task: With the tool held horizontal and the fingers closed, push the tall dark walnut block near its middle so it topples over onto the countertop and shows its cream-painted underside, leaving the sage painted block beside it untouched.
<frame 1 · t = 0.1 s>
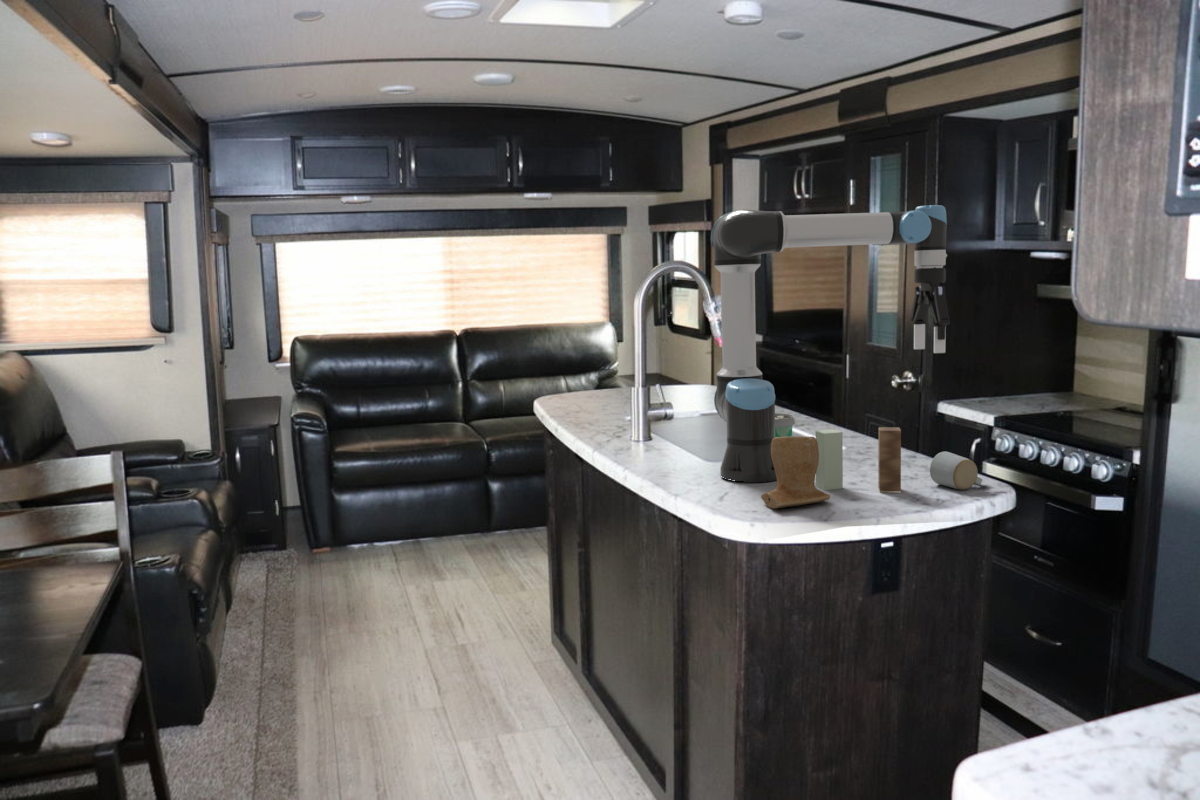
hand: (929, 351, 251), 28 cm above the counter, tool pointing down, fingers open, 13 cm apart
ceramic mug: (958, 487, 221), on the counter
sage block: (829, 487, 225), on the counter
food container: (783, 452, 270), on the counter
walnut block: (889, 490, 220), on the counter
cork flared stand: (792, 504, 211), on the counter
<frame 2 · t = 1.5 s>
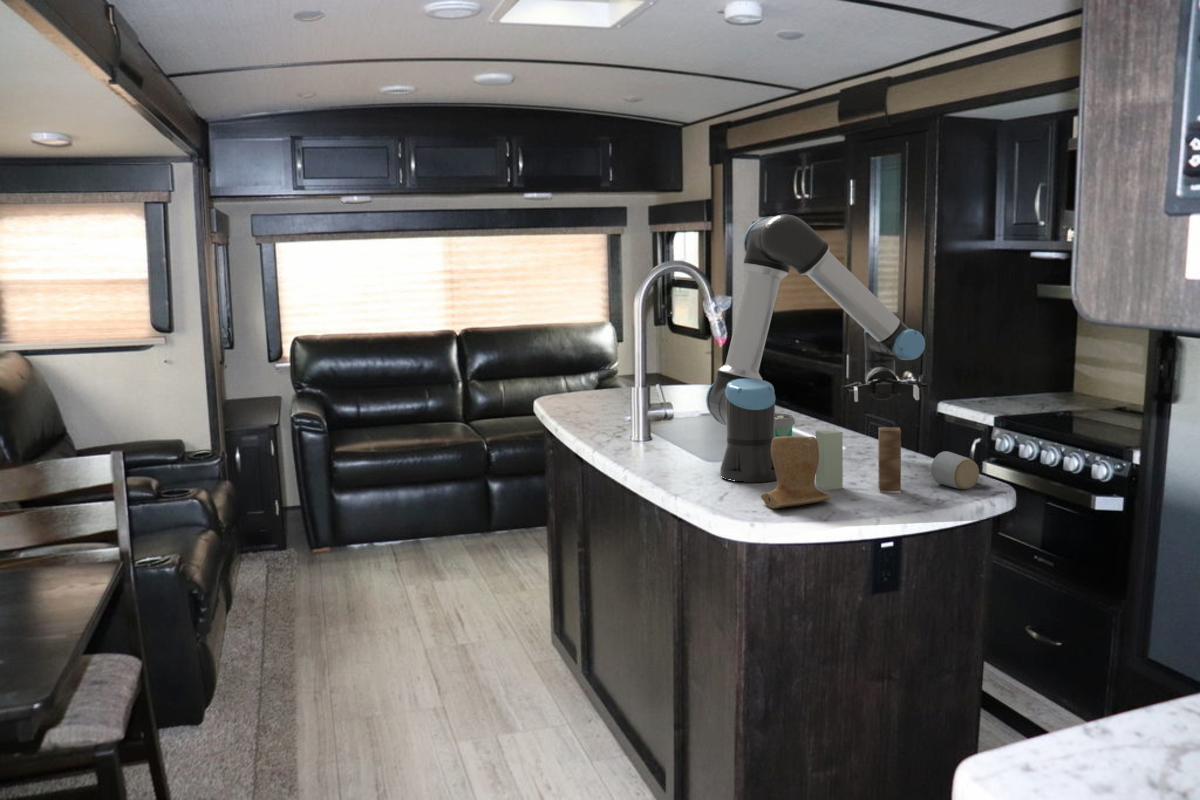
hand: (886, 395, 226), 20 cm above the counter, tool horizontal, fingers open, 13 cm apart
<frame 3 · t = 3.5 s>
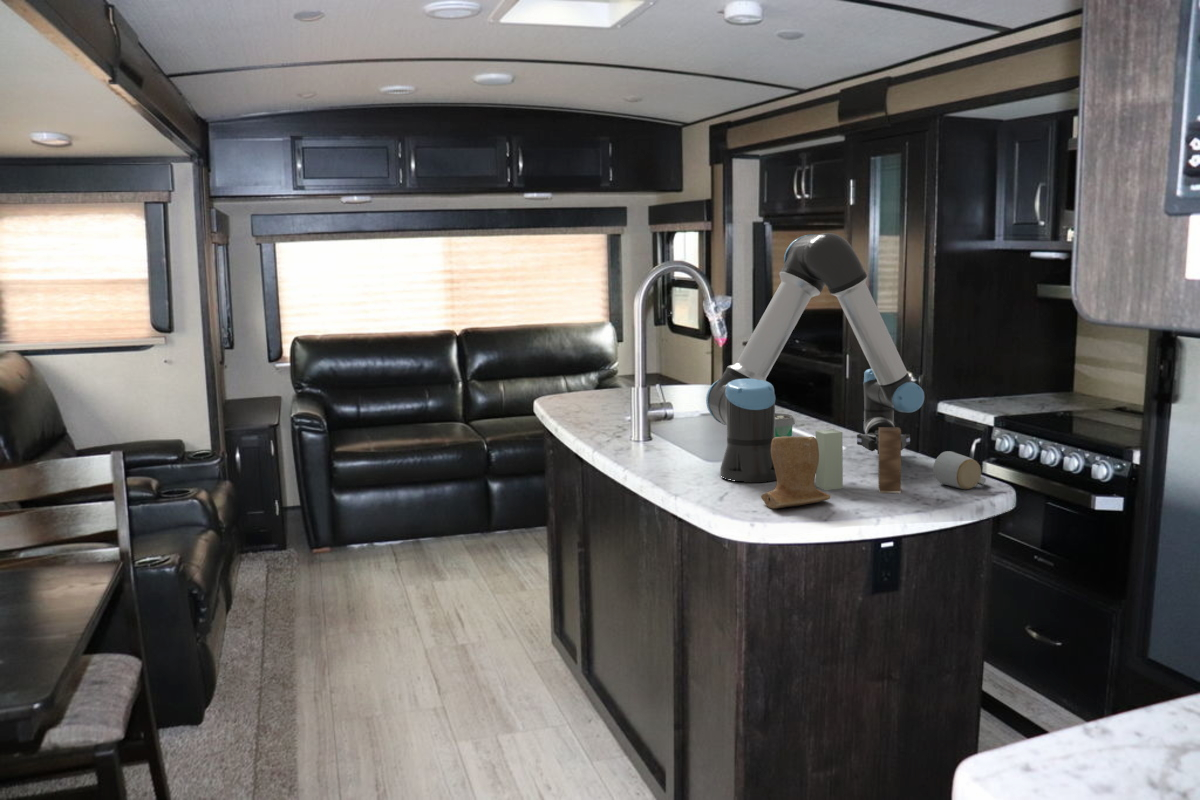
hand: (887, 451, 226), 7 cm above the counter, tool horizontal, fingers closed
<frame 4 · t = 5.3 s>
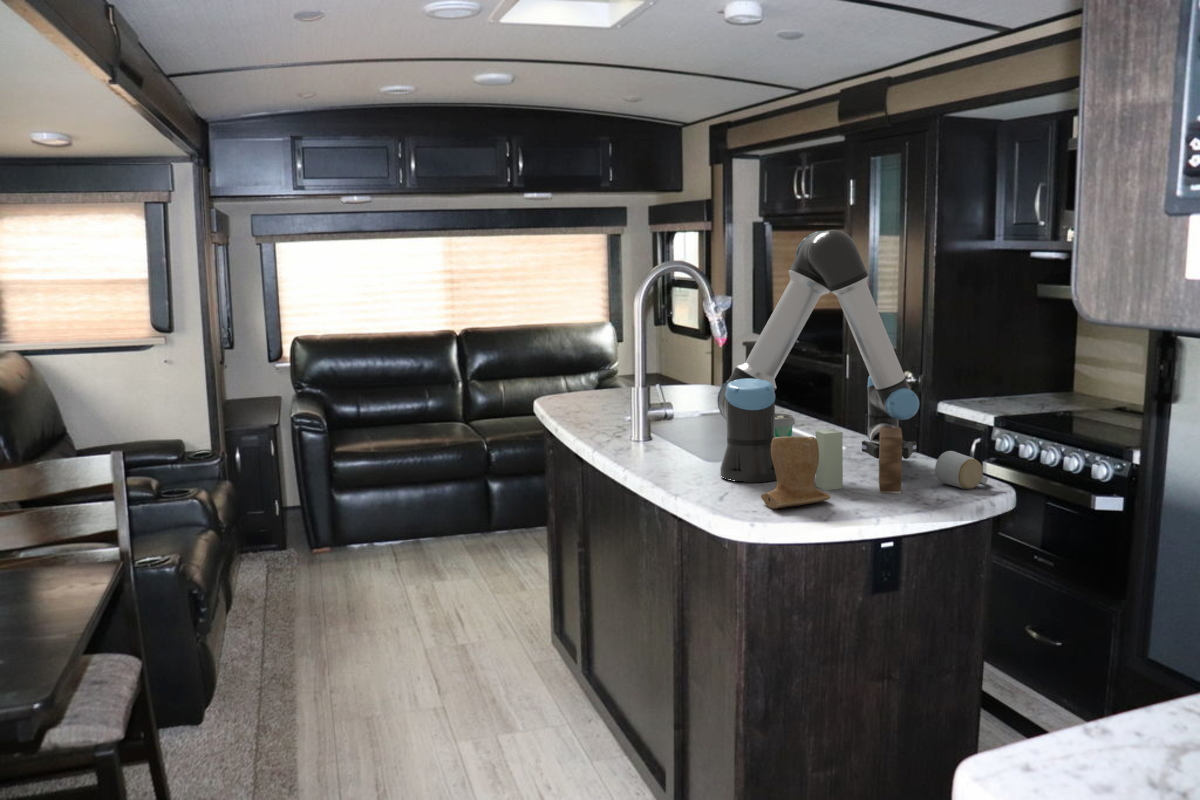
hand: (894, 459, 219), 7 cm above the counter, tool horizontal, fingers closed
walnut block: (889, 487, 219), point 1 cm above the counter, tilted 18°, touching gripper
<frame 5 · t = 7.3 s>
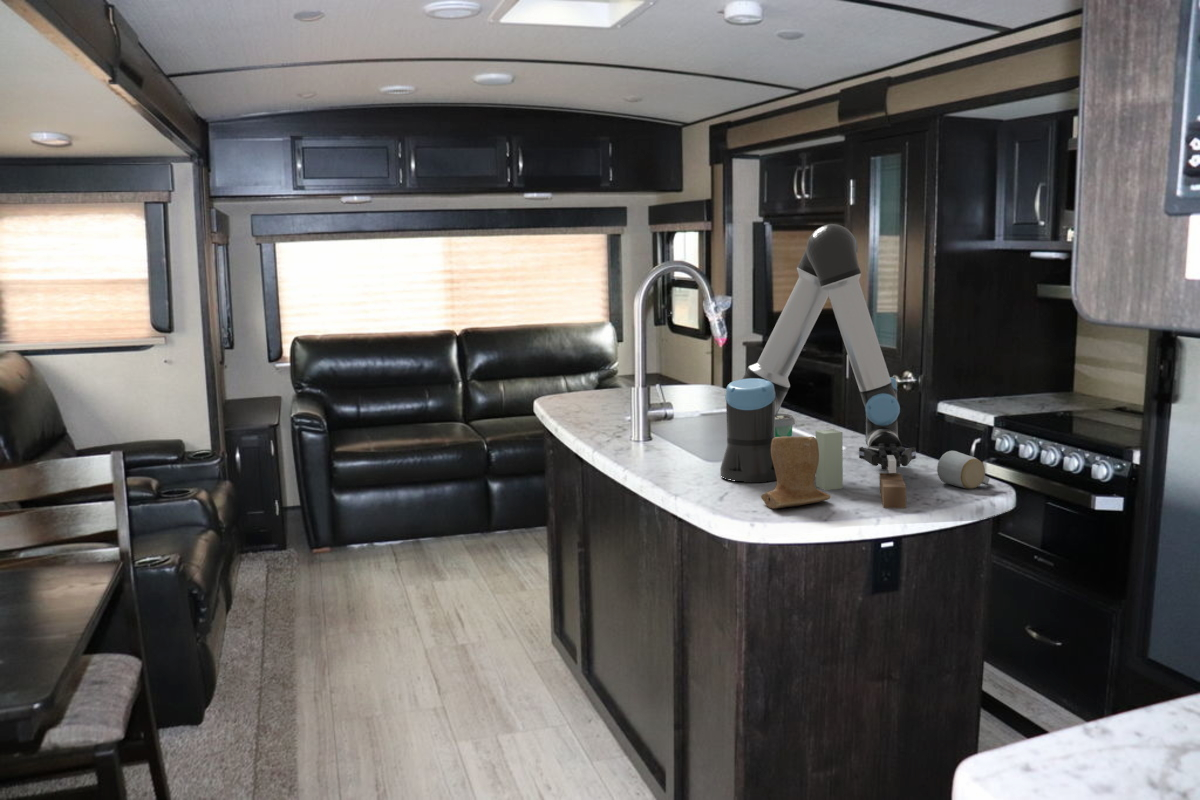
hand: (892, 466, 211), 7 cm above the counter, tool horizontal, fingers closed
walnut block: (890, 483, 217), point 2 cm above the counter, tilted 90°
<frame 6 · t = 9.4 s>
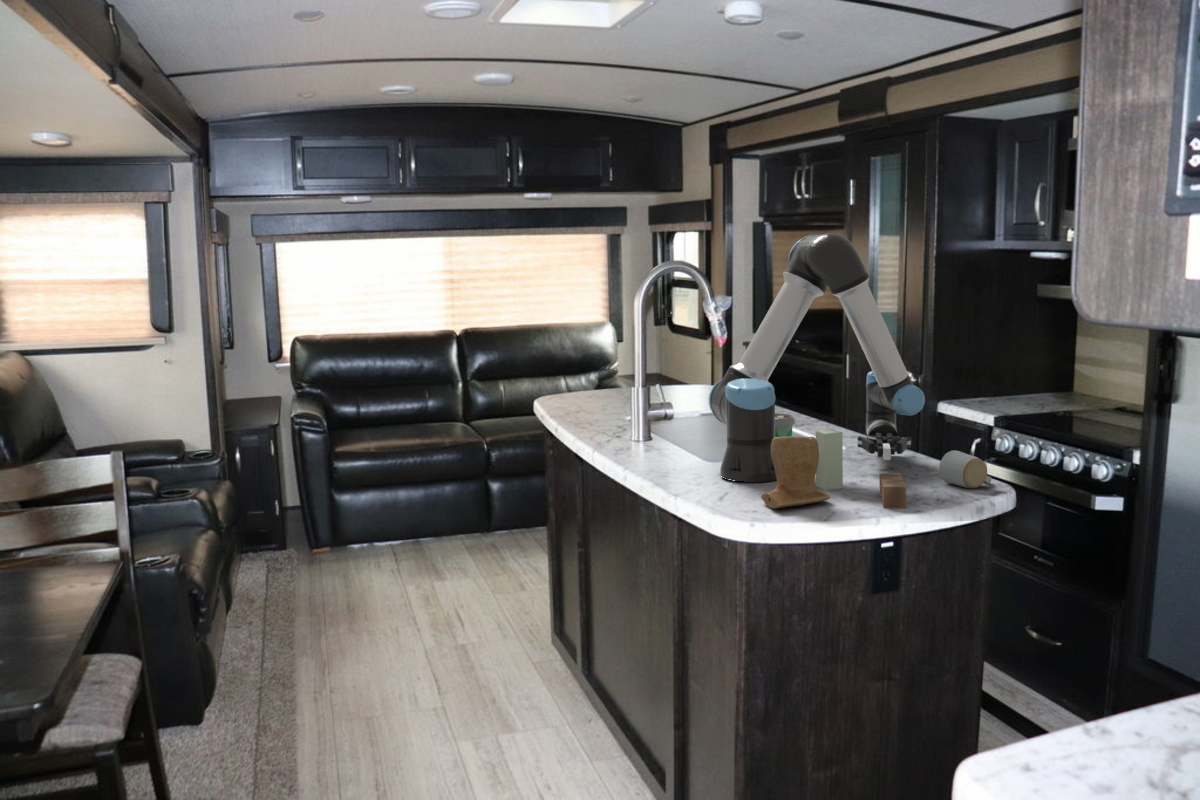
hand: (887, 454, 224), 7 cm above the counter, tool horizontal, fingers closed
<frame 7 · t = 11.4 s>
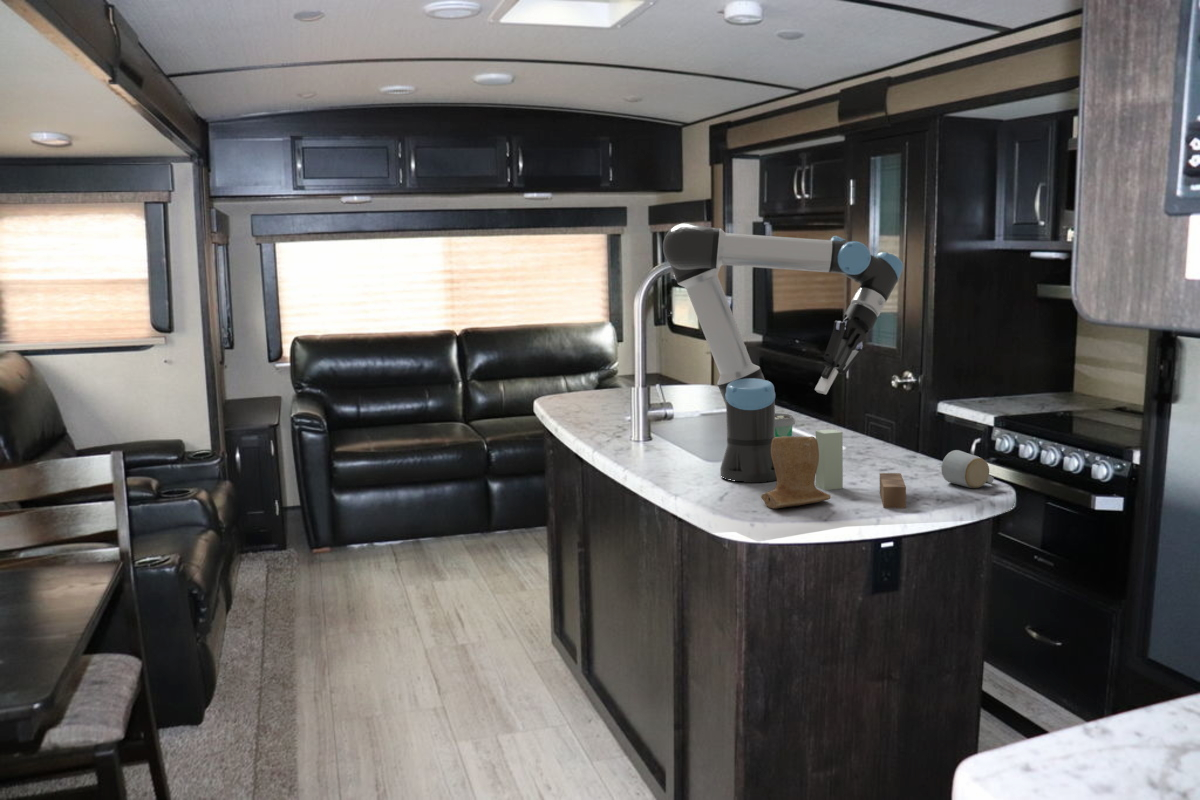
hand: (820, 391, 236), 20 cm above the counter, tool tilted 35°, fingers closed
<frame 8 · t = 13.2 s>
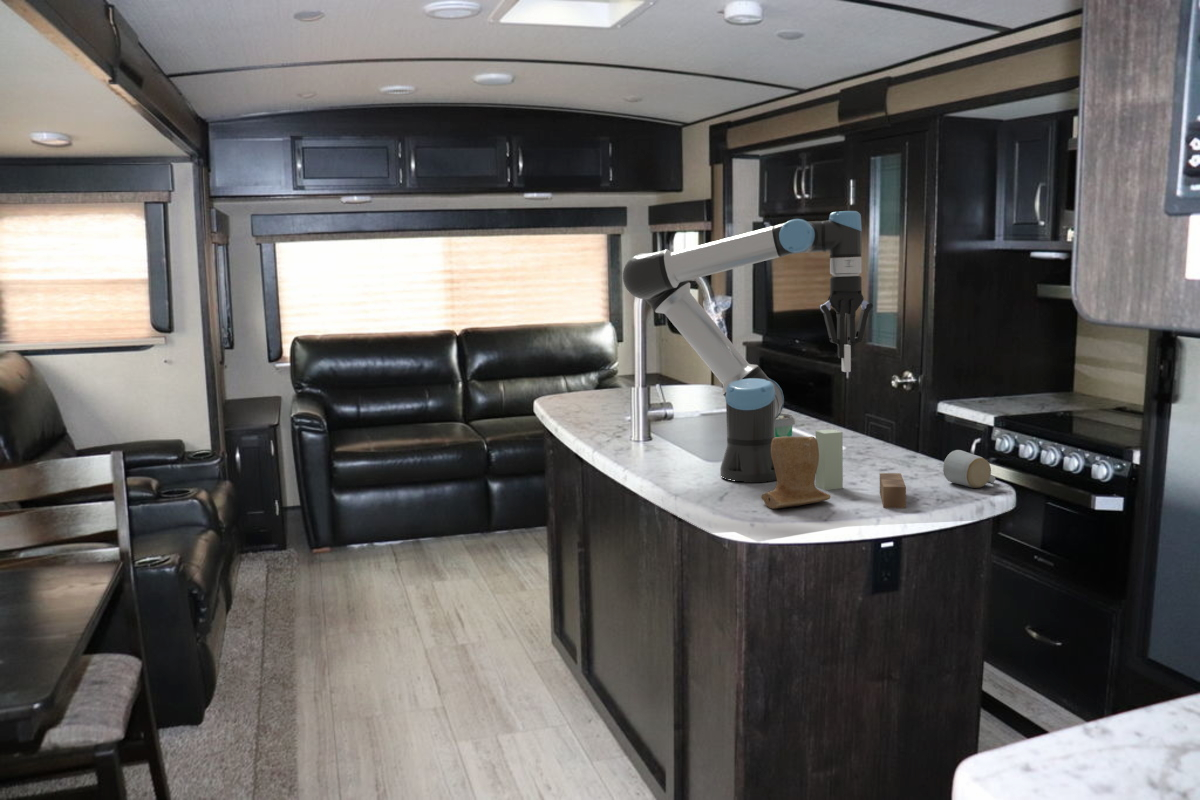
hand: (846, 371, 242), 24 cm above the counter, tool pointing down, fingers closed
at the end: walnut block tilted 90°; walnut block inside the target area (3.8 cm from its centre), point 2.2 cm above the counter; sage block moved 0.0 cm from its start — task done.
